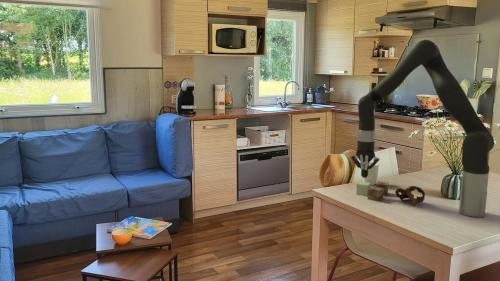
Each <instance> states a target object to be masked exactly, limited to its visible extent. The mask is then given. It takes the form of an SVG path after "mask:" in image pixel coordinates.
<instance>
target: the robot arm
mask: <svg viewBox="0 0 500 281" xmlns="http://www.w3.org/2000/svg"><path fill="white" fill-rule="evenodd" d="M444 60H445V59H443V56H442V54H441V52H440V49H439V47H438V45H436V43H435V42H433V41H432V40H430V39H423V40H420V41H418V42H417V43H416V44H415V45H414V46H413V48H411V50H410V51H409V52H408V53H407V55H405V57H404V58H403V59H402V60H401V61H400V62H399V63H398V65H397V66H395V67H394V68H393V70H391V71H390V72H389V73H388V74H387V75H386V76H384V77H383V78H382V79H381V80H380V81H379V82H378V83H376V85H375V86H374V88H372V89H371V90H370V91H369V92H368V93H367V94H365V95H363V96H361V97H360V99H359V100H358V105H357V109H358V110H357V112H358V113H357V114H358V131H357V137H356V139H357V143H356V144H357V145H356V152H355V154H354V155H352V156H351V157H350V158H351V160H352V161H353V163H354V165H356V168H358V169H360V170H361V171H360V176H361V177H363V178H366V177H367V176H368V170H369V169H371V168H373V167H374V165H375V164H376V163H379V161H380V159H381V158H379V157H378V156H376V153H375V145H376V144H375V142H376V132H375V130H376V121H375V120H376V119H375V108H376V107H378V105H380V104H381V103H382V102H383V101H384V99H386V98H387V97H389V96H390V95H391V94H393V93H394V92H395V90H397V89H398V88H400V86H401V85H402V84H403V83H404V81H405V80H406V78H407V77H409V76H410V75H411V73H412V72H413V71H414V70H416V69H417V68H418V67H420V66H421V65H422V67H423V68H424V70H425V71H426V72H427V73H428V76H429V77H430V79H431V81H432V85H433V88H434V89H435V92H436V95H437V96H438V99H439V101H440V102H441V104H442V107H444V109H445V111H447V113H449V115H451V116H452V118H453V119H455V120H456V121H457V122H458V123H459V124H460V126H461V127H462V129H463V131H464V133H465V137H464V138H463V142H462V147H461V148H462V150H461V164H462V173H461V174H462V175H461V184H460V186H461V187H460V196H459V206H458V207H459V208H458V213H460V214H461V215H464V216H467V217H473V218H484V217H485V215H486V209H487V208H486V207H487V199H488V198H487V197H488V183H489V175H490V165H489V164H488V156H489V154H488V153H489V152H490V151H492V149H493V148H494V147H495V139H494V136H493V135H492V133H491V132H490V131H489V129H488V128H487V127H486V125H485V124H484V123H483V121H482V120H481V119H480V117H479V115H478V114H477V112H476V110H475V109H474V107H473V105H472V102H471V101H470V100H469V97H468V96H467V94H466V93H465V92H466V91H464V89H463V88H462V86H461V84H460V83H459V81H458V80H457V78H456V77H455V76H454V75H453V73H452V72H451V71H450V69H449V68H448V66H447V64H446V62H445V61H444ZM371 161H372V162H373V163H372V164H371V165H370V166H369V164H370V162H371Z"/></svg>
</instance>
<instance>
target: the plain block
mask: <svg viewBox="0 0 500 281" xmlns="http://www.w3.org/2000/svg"><path fill="white" fill-rule="evenodd" d="M370 187H372V185H371V183H367V182H362V181H359V182H357V183H356V190H355V191H356V192H355V194H356V195H357V196H364V197H368V188H370Z"/></svg>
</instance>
